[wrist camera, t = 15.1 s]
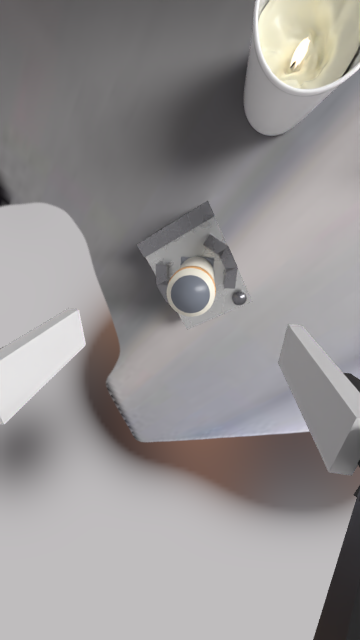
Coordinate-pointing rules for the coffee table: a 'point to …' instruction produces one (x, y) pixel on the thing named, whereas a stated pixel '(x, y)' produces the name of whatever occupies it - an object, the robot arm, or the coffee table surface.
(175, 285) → the cream flashlight
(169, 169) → the coffee table surface
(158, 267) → the cradle fixture plate
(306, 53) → the candle holder
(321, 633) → the robot arm
